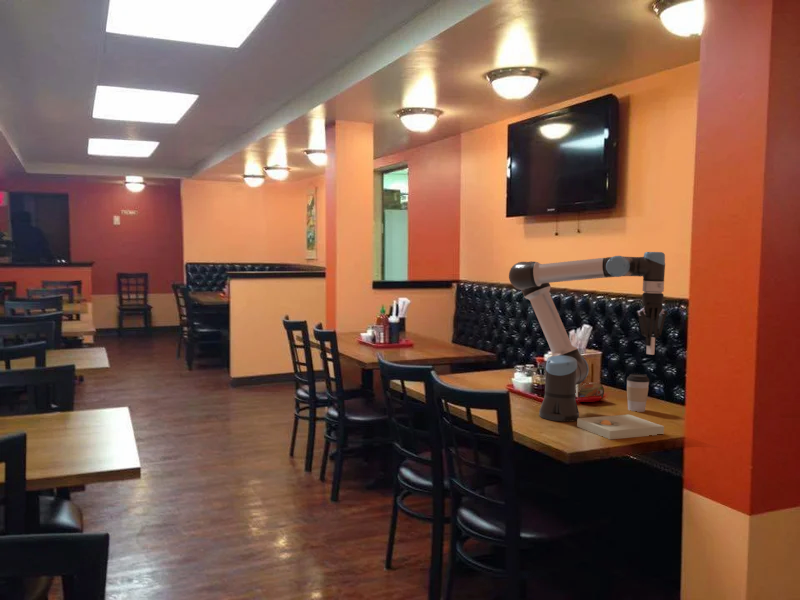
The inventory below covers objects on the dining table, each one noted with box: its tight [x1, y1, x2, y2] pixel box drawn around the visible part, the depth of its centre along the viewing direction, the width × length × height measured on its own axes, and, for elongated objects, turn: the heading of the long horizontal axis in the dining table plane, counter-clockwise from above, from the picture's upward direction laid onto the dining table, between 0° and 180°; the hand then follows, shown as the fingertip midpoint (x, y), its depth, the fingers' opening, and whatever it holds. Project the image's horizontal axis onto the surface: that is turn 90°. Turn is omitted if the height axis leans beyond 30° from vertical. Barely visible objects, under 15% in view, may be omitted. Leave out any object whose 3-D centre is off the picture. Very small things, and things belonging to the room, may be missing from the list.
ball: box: [600, 420, 612, 425], centre depth 236 cm, size 4×4×4 cm
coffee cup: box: [626, 373, 651, 413], centre depth 272 cm, size 9×9×15 cm
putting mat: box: [576, 413, 665, 440], centre depth 238 cm, size 18×24×3 cm
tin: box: [578, 382, 605, 399], centre depth 285 cm, size 15×3×8 cm, turn 119°
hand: (650, 354), depth 250 cm, fingers closed
